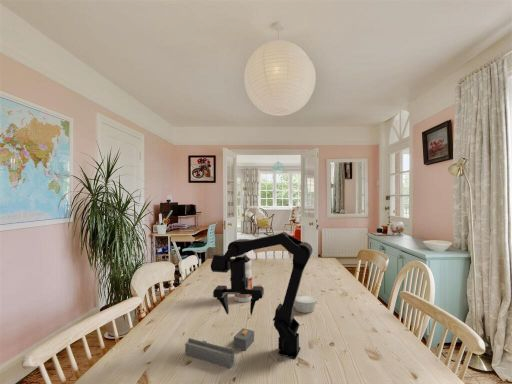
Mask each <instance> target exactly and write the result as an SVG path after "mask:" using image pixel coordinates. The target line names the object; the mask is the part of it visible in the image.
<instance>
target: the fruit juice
mask: <svg viewBox="0 0 512 384" xmlns="http://www.w3.org/2000/svg"><path fill="white" fill-rule="evenodd" d="M248 253H249V252H247V253H244V254H242V255H240V256H237V257H243V256H244V255H246V256H247V257H248V258H250V256H249V254H248ZM252 264H253V263H252V259H250V261H249V262H247V263H245V273H246V278H248V287H247V288H246V289H252V288H253V272H252ZM251 298H252V296H251V295H250V294H234V300H235V301H236V302H238V303H248V302H251Z"/></svg>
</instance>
